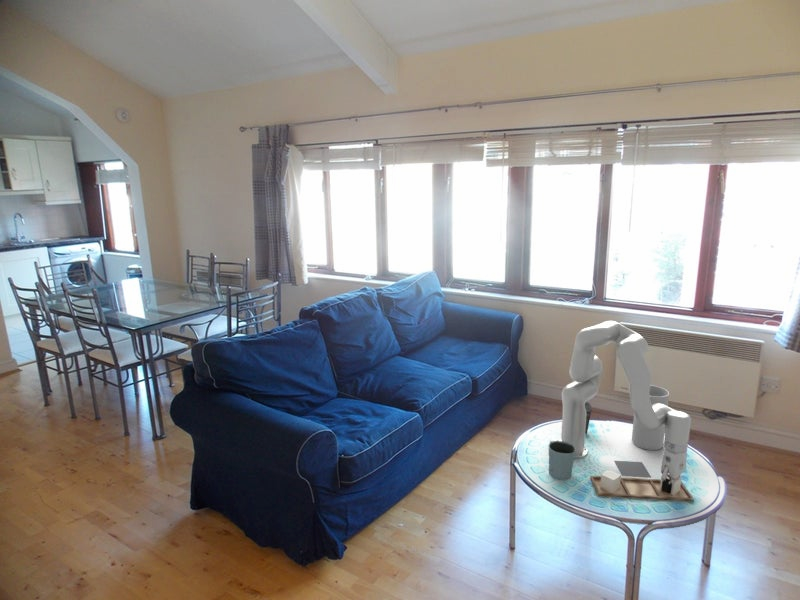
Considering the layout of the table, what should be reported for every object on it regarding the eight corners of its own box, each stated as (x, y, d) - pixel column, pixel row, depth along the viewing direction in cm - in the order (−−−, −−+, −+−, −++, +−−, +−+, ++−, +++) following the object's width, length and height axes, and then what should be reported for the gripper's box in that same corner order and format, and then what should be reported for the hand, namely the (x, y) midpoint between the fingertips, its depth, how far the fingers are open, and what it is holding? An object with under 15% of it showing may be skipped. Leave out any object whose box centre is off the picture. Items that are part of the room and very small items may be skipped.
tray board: (597, 497, 184) (598, 493, 184) (590, 478, 195) (590, 475, 195) (693, 502, 180) (694, 499, 179) (680, 483, 191) (680, 480, 190)
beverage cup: (585, 437, 226) (588, 396, 222) (570, 431, 232) (573, 391, 227) (593, 432, 231) (596, 391, 226) (578, 426, 236) (581, 387, 232)
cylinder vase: (646, 452, 213) (651, 398, 207) (625, 438, 224) (630, 387, 218) (669, 448, 216) (676, 394, 210) (648, 434, 228) (653, 383, 222)
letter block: (679, 490, 185) (681, 477, 184) (673, 495, 182) (675, 482, 181) (666, 484, 189) (667, 471, 188) (659, 489, 186) (661, 475, 185)
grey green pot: (541, 471, 201) (543, 444, 198) (559, 464, 205) (561, 438, 203) (561, 484, 192) (562, 456, 189) (579, 476, 197) (581, 449, 194)
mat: (621, 476, 196) (622, 475, 196) (613, 461, 207) (614, 460, 206) (651, 478, 195) (651, 477, 194) (641, 462, 205) (642, 462, 205)
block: (619, 488, 188) (620, 475, 187) (612, 493, 185) (613, 480, 184) (607, 482, 192) (608, 469, 191) (600, 487, 189) (601, 474, 188)
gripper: (675, 457, 174) (669, 502, 178) (696, 441, 184) (690, 484, 188) (653, 448, 179) (648, 492, 184) (675, 433, 189) (670, 475, 194)
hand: (669, 488), depth 186 cm, fingers closed on letter block, 5 cm apart
